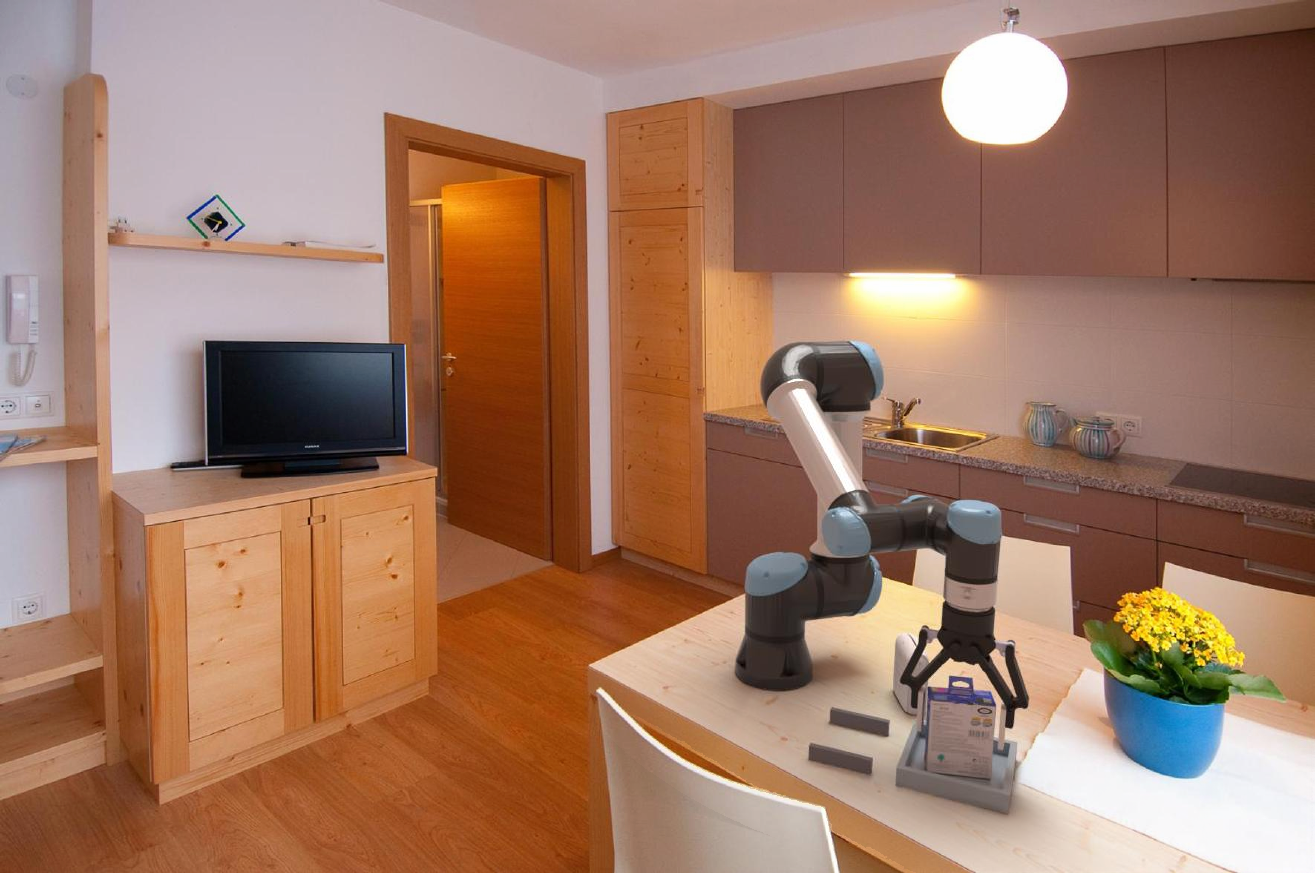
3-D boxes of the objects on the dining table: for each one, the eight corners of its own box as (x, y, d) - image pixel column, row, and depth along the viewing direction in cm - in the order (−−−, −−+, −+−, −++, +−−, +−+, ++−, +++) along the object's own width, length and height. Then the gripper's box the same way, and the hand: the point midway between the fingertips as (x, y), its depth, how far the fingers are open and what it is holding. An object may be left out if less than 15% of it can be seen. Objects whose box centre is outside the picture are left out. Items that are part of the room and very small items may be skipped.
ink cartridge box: (987, 760, 135) (993, 676, 132) (993, 780, 130) (1000, 692, 127) (922, 754, 137) (927, 670, 134) (925, 773, 132) (931, 686, 129)
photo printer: (929, 715, 151) (933, 650, 149) (904, 715, 151) (908, 650, 149) (912, 688, 161) (916, 626, 159) (890, 688, 161) (893, 626, 159)
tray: (895, 785, 130) (896, 767, 129) (914, 735, 144) (915, 719, 143) (1008, 813, 123) (1009, 795, 122) (1016, 758, 137) (1017, 741, 136)
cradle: (808, 759, 137) (808, 745, 136) (831, 720, 149) (831, 706, 149) (870, 775, 132) (871, 760, 132) (889, 733, 145) (889, 719, 144)
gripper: (884, 598, 130) (877, 729, 134) (1054, 626, 120) (1041, 767, 124) (894, 583, 137) (887, 708, 141) (1055, 607, 127) (1043, 742, 130)
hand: (959, 736), depth 132 cm, fingers open, 11 cm apart
